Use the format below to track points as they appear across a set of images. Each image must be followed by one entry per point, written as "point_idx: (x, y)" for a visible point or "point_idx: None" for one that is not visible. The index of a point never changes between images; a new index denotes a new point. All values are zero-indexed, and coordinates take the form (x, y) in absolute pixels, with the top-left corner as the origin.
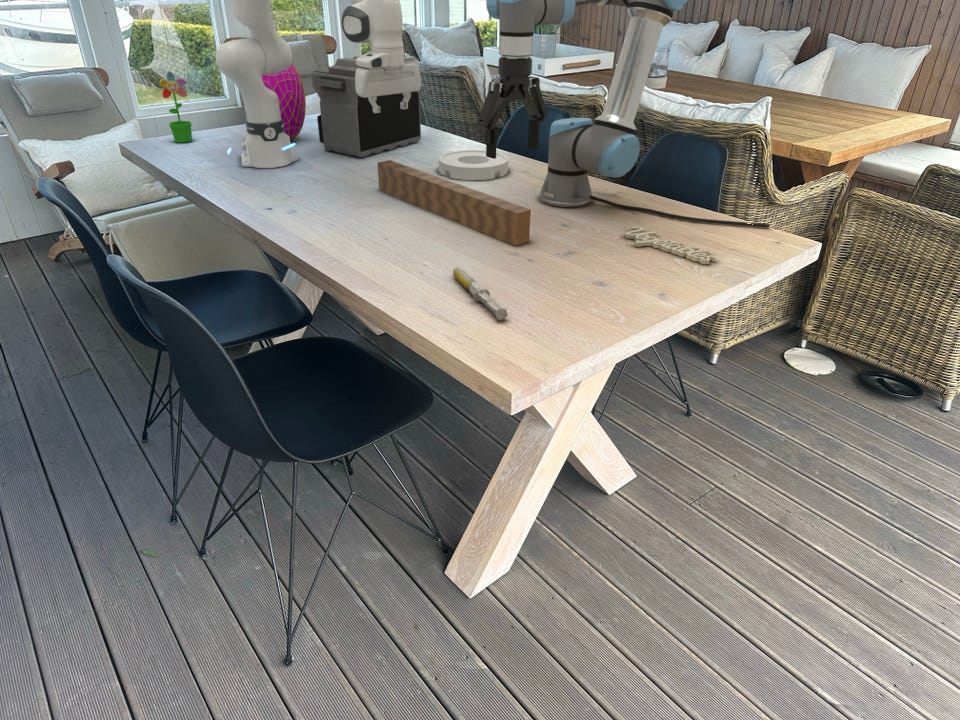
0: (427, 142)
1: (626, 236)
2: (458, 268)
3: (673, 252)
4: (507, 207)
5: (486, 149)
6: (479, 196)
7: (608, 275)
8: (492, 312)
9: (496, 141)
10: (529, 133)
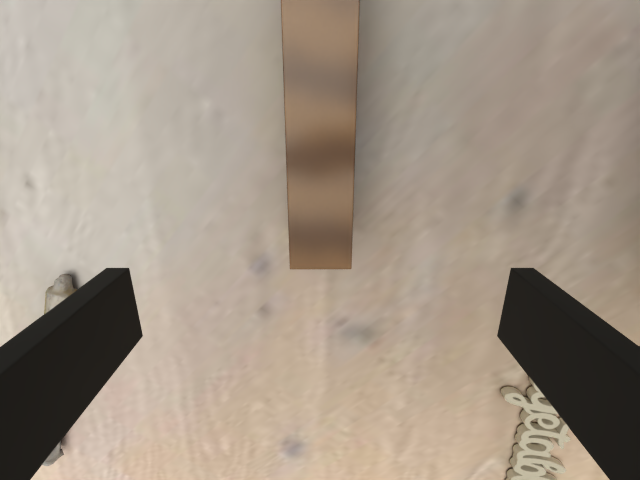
0: None
1: None
2: (49, 304)
3: (514, 451)
4: (305, 206)
5: (76, 294)
6: (310, 22)
7: (334, 436)
8: None
9: (73, 423)
10: (579, 340)
